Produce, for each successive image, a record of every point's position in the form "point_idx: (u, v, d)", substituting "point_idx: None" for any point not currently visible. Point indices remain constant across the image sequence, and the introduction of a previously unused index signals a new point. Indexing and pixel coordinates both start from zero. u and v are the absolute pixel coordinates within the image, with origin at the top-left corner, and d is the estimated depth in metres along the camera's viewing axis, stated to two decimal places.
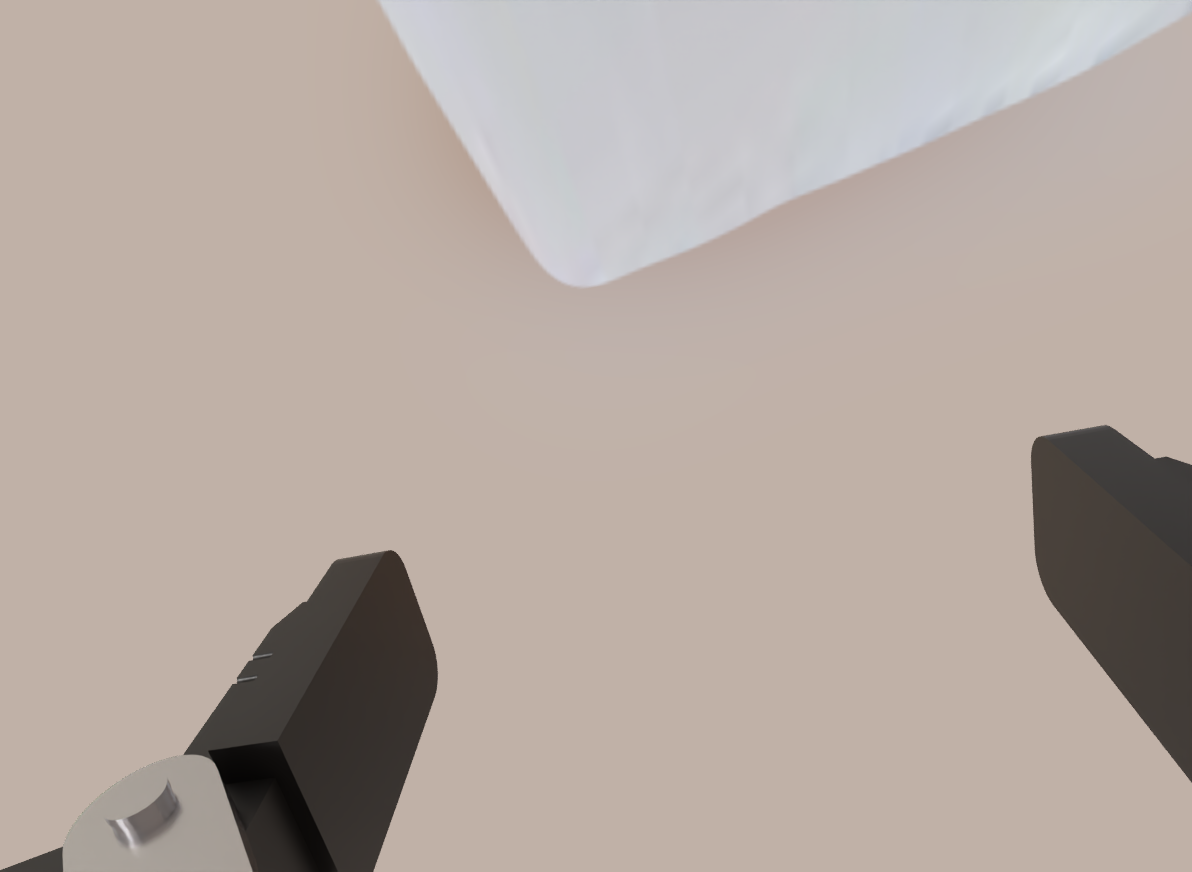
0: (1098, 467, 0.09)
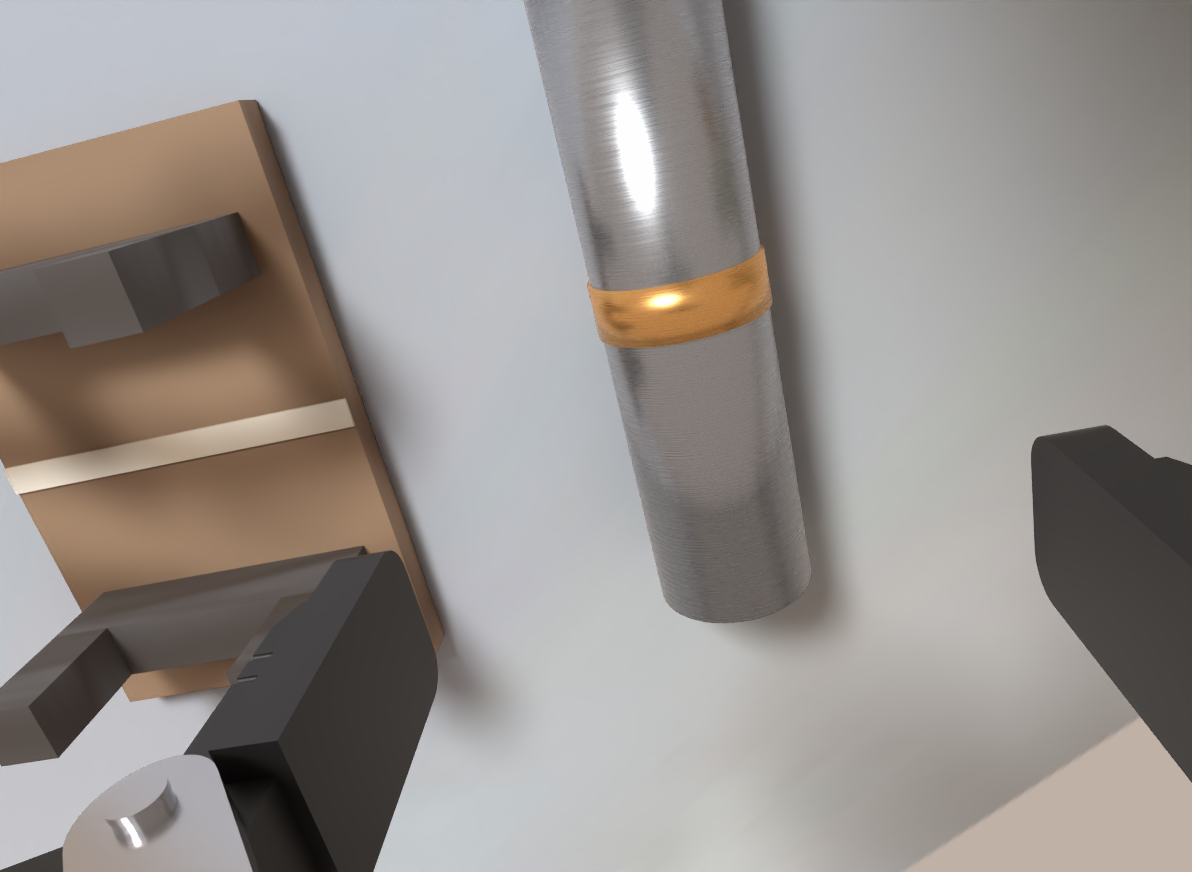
0: (1098, 467, 0.09)
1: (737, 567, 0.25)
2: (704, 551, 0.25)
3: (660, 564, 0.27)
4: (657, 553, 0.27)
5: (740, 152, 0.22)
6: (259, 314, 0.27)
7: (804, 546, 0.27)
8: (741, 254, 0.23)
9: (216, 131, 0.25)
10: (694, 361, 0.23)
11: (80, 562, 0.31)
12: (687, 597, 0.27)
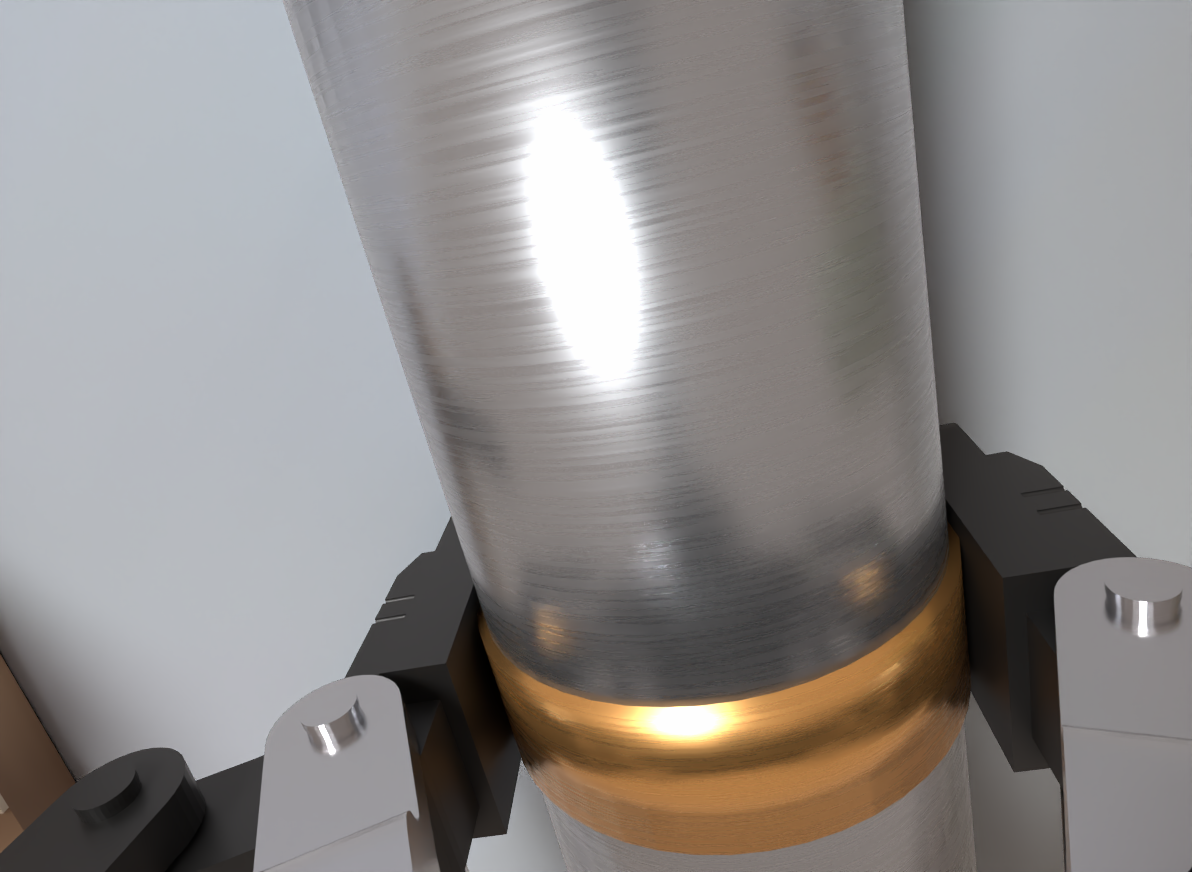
0: None
1: None
2: None
3: None
4: None
5: (924, 285, 0.07)
6: None
7: None
8: (921, 589, 0.07)
9: None
10: None
11: None
12: None
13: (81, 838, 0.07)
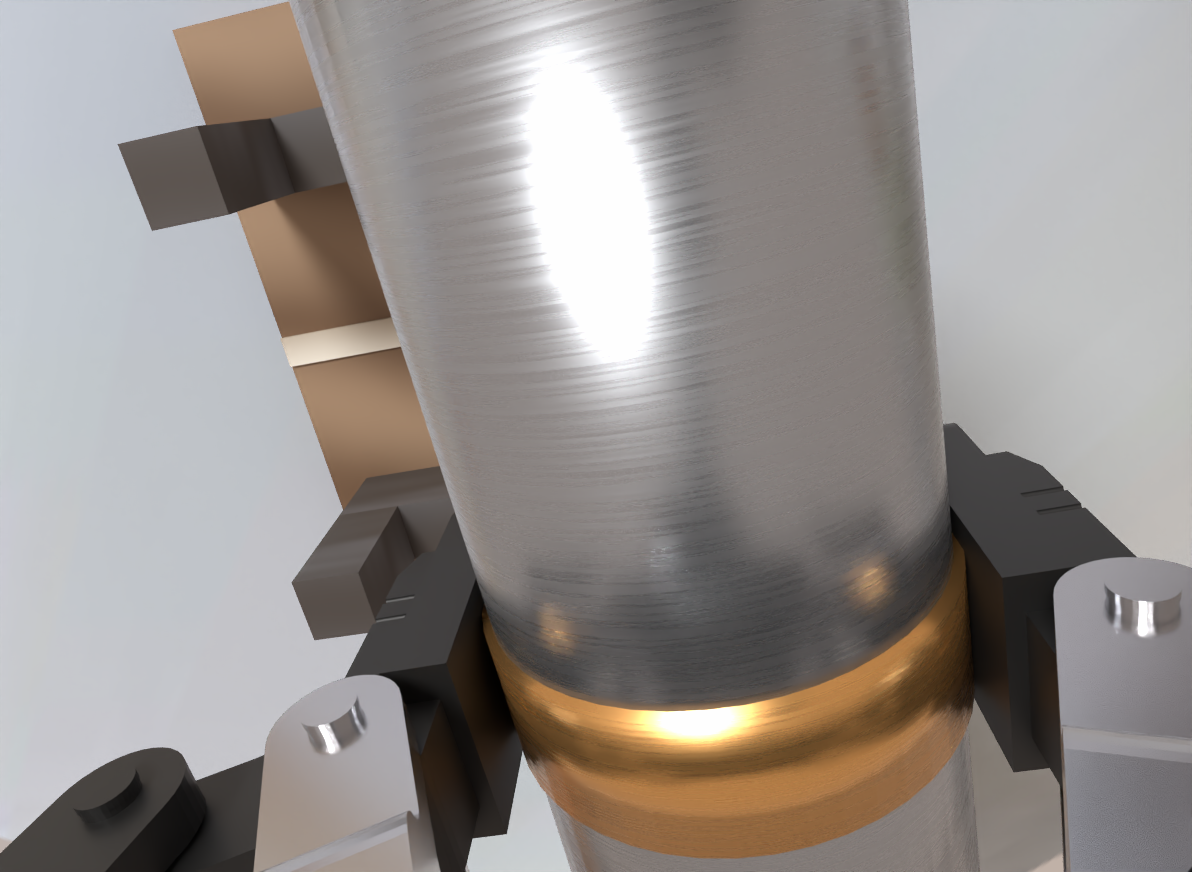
0: None
1: None
2: None
3: None
4: None
5: (929, 291, 0.07)
6: None
7: None
8: (926, 593, 0.08)
9: None
10: None
11: (346, 444, 0.30)
12: None
13: (81, 838, 0.07)
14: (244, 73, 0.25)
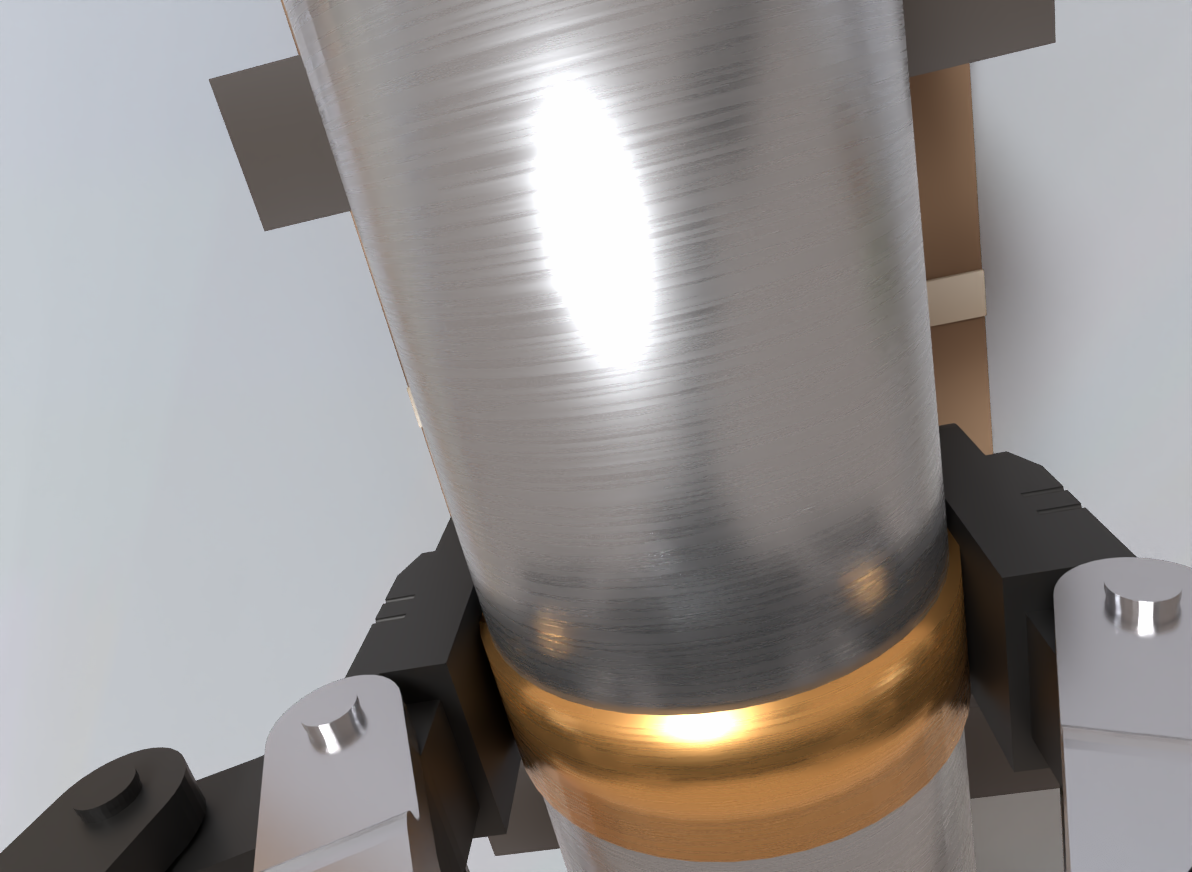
0: None
1: None
2: None
3: None
4: None
5: (925, 296, 0.07)
6: None
7: None
8: (921, 597, 0.08)
9: None
10: None
11: None
12: None
13: (81, 838, 0.07)
14: None
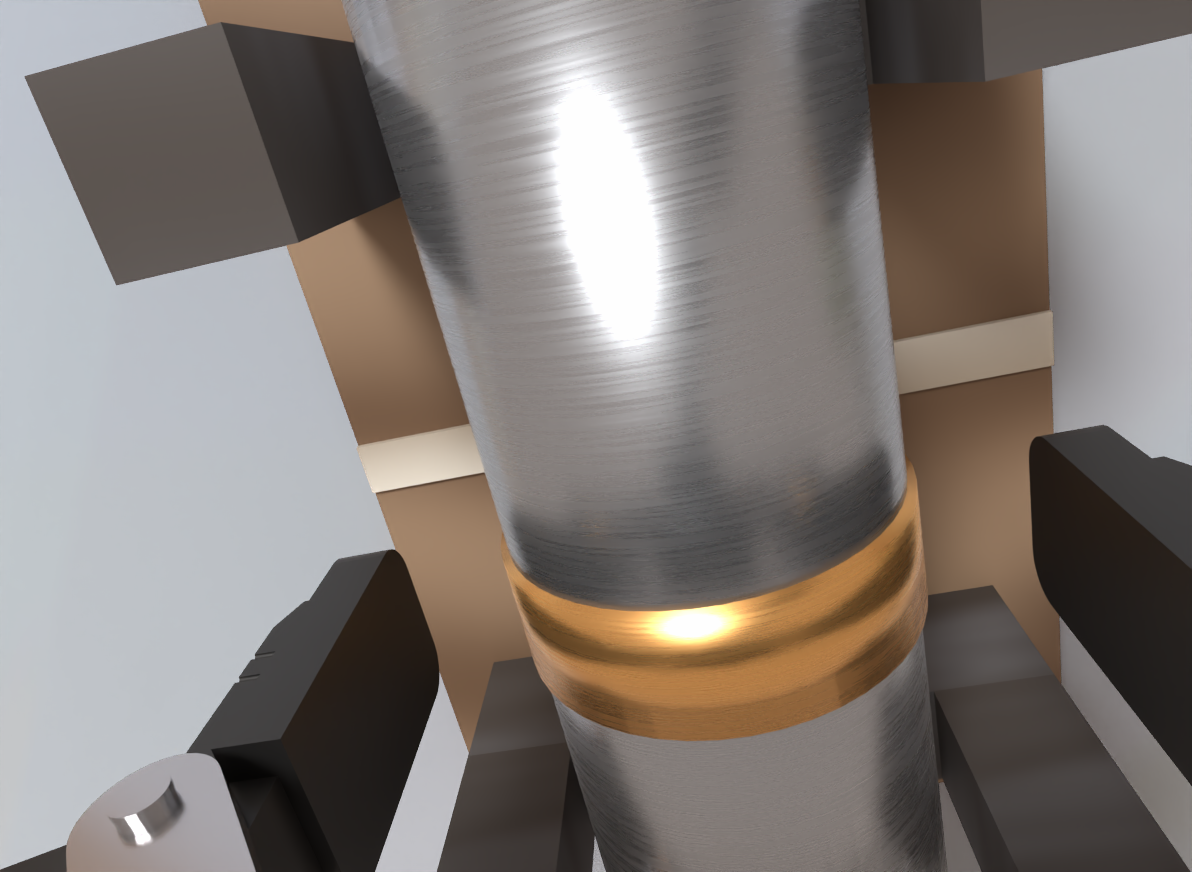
0: (1095, 467, 0.09)
1: None
2: None
3: None
4: None
5: (880, 259, 0.09)
6: (929, 140, 0.14)
7: None
8: (879, 515, 0.09)
9: None
10: (758, 774, 0.09)
11: (462, 612, 0.18)
12: None
13: None
14: None
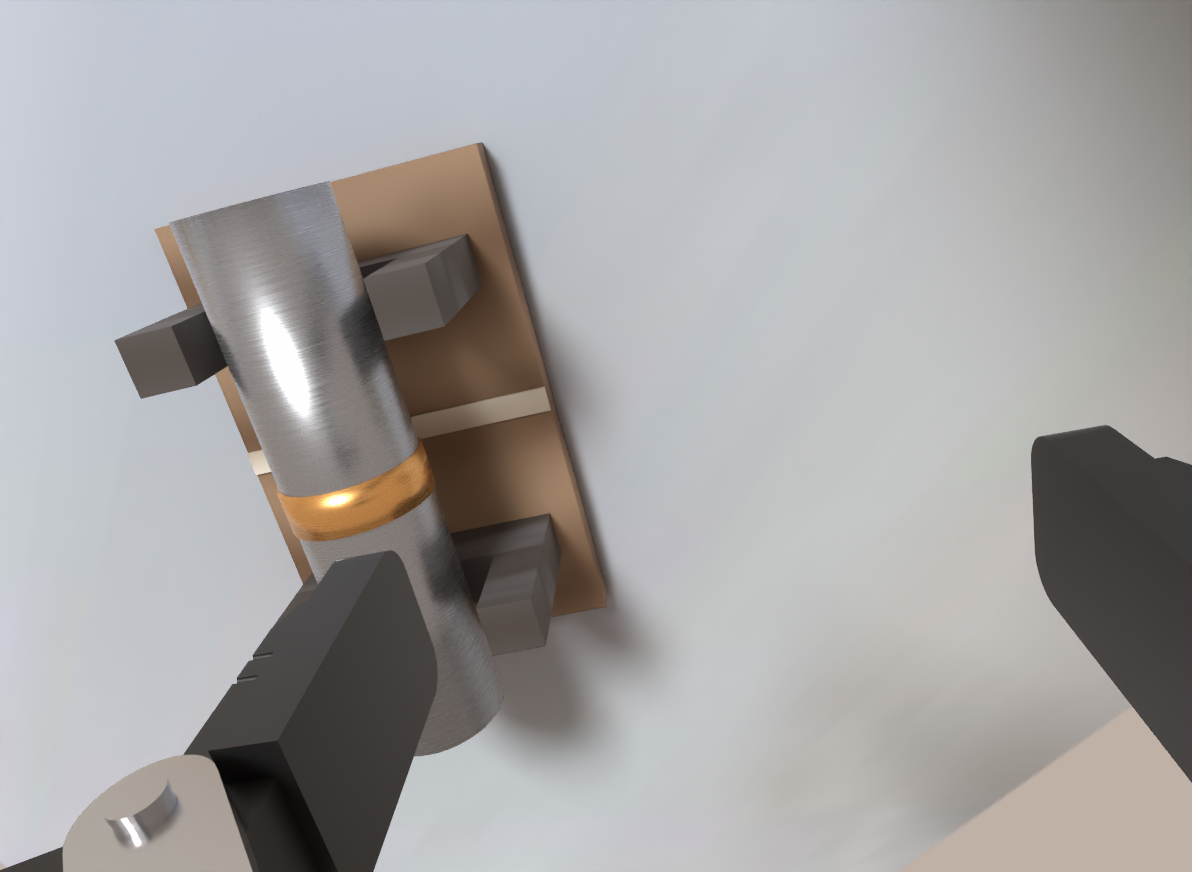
0: (1098, 467, 0.09)
1: None
2: None
3: None
4: None
5: (378, 385, 0.28)
6: (478, 317, 0.33)
7: (486, 686, 0.32)
8: (384, 466, 0.28)
9: (456, 168, 0.31)
10: (351, 552, 0.28)
11: None
12: None
13: None
14: None
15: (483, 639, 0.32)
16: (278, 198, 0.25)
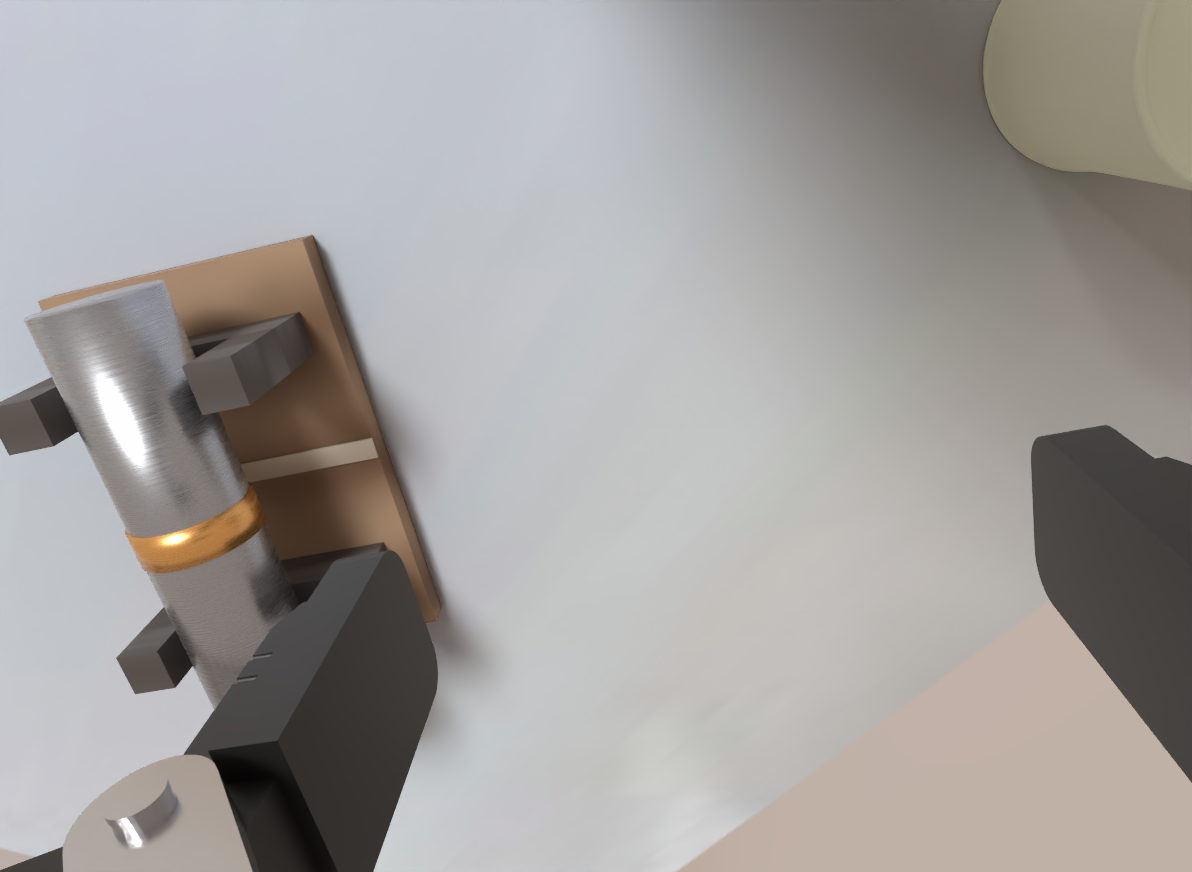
0: (1098, 467, 0.09)
1: None
2: None
3: None
4: None
5: (203, 448, 0.34)
6: (312, 380, 0.39)
7: None
8: (209, 513, 0.34)
9: (286, 259, 0.37)
10: (183, 582, 0.34)
11: None
12: None
13: None
14: None
15: None
16: (108, 305, 0.31)
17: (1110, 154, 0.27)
